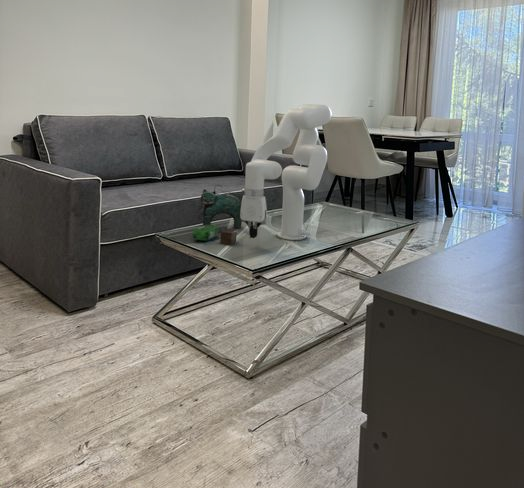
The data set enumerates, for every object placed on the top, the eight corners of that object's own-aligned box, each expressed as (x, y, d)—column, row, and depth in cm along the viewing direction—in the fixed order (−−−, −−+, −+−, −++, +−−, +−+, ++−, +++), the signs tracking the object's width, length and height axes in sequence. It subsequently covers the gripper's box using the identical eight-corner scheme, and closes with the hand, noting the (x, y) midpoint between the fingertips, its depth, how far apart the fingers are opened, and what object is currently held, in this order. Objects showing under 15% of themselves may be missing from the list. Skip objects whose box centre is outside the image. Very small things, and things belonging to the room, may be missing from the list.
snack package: (189, 242, 203) (189, 229, 203) (206, 233, 218) (206, 222, 218) (204, 244, 201) (205, 232, 201) (220, 236, 216) (221, 224, 215)
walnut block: (236, 242, 207) (236, 230, 206) (231, 245, 202) (231, 232, 202) (225, 240, 208) (226, 228, 208) (220, 243, 204) (220, 231, 204)
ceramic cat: (199, 228, 226) (201, 185, 225) (199, 225, 233) (200, 183, 232) (242, 229, 230) (244, 186, 228) (241, 226, 236) (243, 184, 235)
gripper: (233, 192, 200) (232, 237, 201) (268, 196, 194) (266, 242, 196) (241, 189, 207) (240, 232, 208) (275, 193, 201) (273, 237, 203)
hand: (253, 237), depth 202 cm, fingers closed
